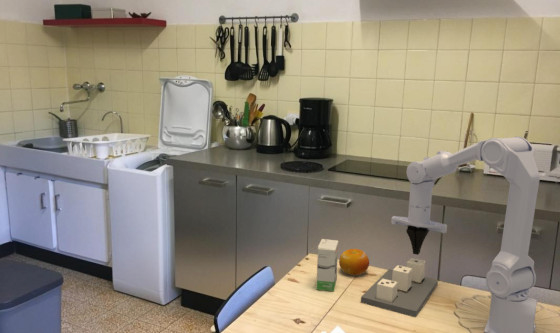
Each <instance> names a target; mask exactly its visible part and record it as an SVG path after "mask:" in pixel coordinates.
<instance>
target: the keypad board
mask: <svg viewBox="0 0 560 333" xmlns="http://www.w3.org/2000/svg"><path fill="white" fill-rule="evenodd" d="M392 275H393V269H392V268H391V269H390V268H389V269H387V270H386V272H385V273H383V275H381V276H380V278H379V279H377V280H376V281H375V282H374V284H372V285H371V286H370V287H369V288H368V290H366V291H365V292H364V294H362V295H361V297H360V303H361V304H366V305H370V306H374V307H377V308H381V309H385V310H387V311H391V312H396V313H399V314H403V315H407V316H410V317H414V318H417V316H418V315H419V313H420V312H421V310H422V309H423V307H424V306H425V305H426V303H427V301H428V300H429V298H430V297H431V295H432V294H433V293H434V292H435V289H436V288H437V286H438V284H439V279H436V278H432V277H427V276H424V279H423V280H422V281H421V282H420V283H418V282H414V281H411V287H410V288H409V289H408V290H407V291H406V292H405V291H401V290H397V298H396V299H395V301H394V302H393V303H391V302H387V301H384V300H380V299H376V296H377V284H378V283H379V282H380V281H381V280H382V279H387V280H391V281H392Z"/></svg>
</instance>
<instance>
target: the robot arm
mask: <svg viewBox="0 0 560 333" xmlns="http://www.w3.org/2000/svg"><path fill="white" fill-rule="evenodd" d="M535 154H536V148H535V147H534V146H533V145H532V144H531V143H530V141H529V140H527V138H524V137H522V136H513V137H502V138H498V137H492V138H489V139H485V140H480V141H478V142H475V143H473V144H472V145H469V146H467V147H464V148H462V149H460V150H458V151H455V152H454V153H453V152H450V151H445V150H439V151H436V154H435V155H433V156H426V157H424V158H423V160H422V161H418V160H417V161H416V160H415V161H412V162H410V163H409V164H408V165H407V167H406V171H405V172H406V177H407V179H408V181H409V182H410V184H409V186H410V187H409V200H408V213H407V214H408V216H396V215H393V216H392V217H391V220H390V221H391V223H390V224H391V225H393V226H395V225H397V226H398V225H399V226H403V227H407V229H406V230H405V231H406V234H407V235H408V237H409V238H408V239H409V240H410V244H411V249H412V255H419V254H420V252H421V249H422V246H423V243H424V241H425V238H427V236H428V234H429V232H430V231H433V232H439V233H441V234H446V233H447V231H448V230H447V229H448V225H447V224H446V223H441V222H437V221H433V220H431V213H432V212H431V211H432V200H433V199H432V198H433V188H435V182H436V181H437V179H440V178H443V177H446V176H449V175H451V174H454V173H455V172H457V170H458V168H459V167H458V166H462V165H465V164H470V163H472V162H475V161H479V162H483V163H485V164H486V165H487V166H488V167H489V168H491V169H492V170H494V171H495V172H497V173H499V174H500V175H502V177H504V178H505V179H506V180H507V181H508V183H509V188H508V196H507V201H506V209H505V210H506V211H505V217H504V222H503V223H504V225H503V231H502V238H501V244H500V251H499V252H498V254H497V255H496V256H495V257H494V259H493V260H492V262H491V266H490V268H489V270H488V272H487V273H486V277H485V281H486V282H485V283H486V286H487V288H488V289H489V291H490V295H491V297H490V305H489V306H490V307H489V314H488V316H489V317H488V319H487V322H486V324H485V327H484V329H483V330H484V331H483V332H484V333H535V332H536V328H537V327H536V325H537V324H535V321H536V313H537V304H538V300H537V299H535V298H532V297H530V296H529V290H530V289H531V288H534V286H535V284H536V281H537V275H536V272H535V261H534V260H533V259H532V257H531V256H529V249H530V244H531V239H532V238H531V237H532V232H533V224H534V217H535V211H536V204H537V197H538V193H539V186H540V180H541V179H540V177H541V176H540V173H539V169H538V166H537V162H536V158H535V156H536V155H535Z"/></svg>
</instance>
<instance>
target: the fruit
mask: <svg viewBox="0 0 560 333" xmlns="http://www.w3.org/2000/svg"><path fill="white" fill-rule="evenodd" d="M338 260H339V261H338V263H339V267H340V270H342V271H343V272H344V273H345V274H347V275H350V276H360V275H362V274H365V273H366V272H367V271H368V269H369V266H370V259H369V257H368V255H367V254H366V252H365V251H364V250H362V249H359V248H349V249H346V250H345V251H343V252H342V253H341V255H340V257H339V258H338Z"/></svg>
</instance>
